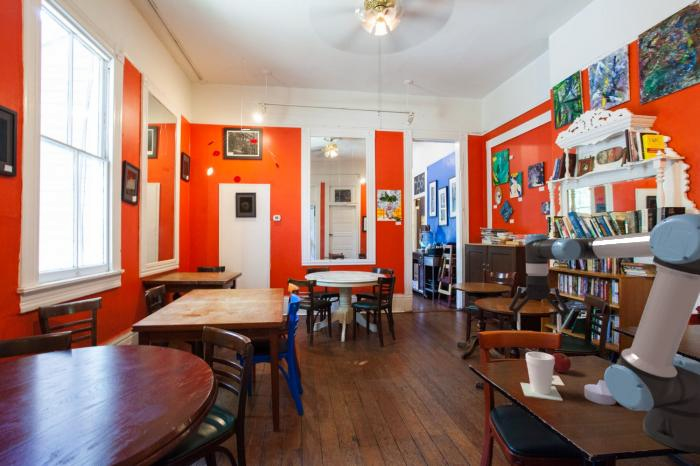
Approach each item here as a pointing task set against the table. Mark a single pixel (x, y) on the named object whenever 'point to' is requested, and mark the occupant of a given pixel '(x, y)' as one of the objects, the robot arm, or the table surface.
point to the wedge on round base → (599, 393)
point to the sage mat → (552, 396)
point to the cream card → (557, 381)
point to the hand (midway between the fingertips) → (538, 331)
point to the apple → (561, 362)
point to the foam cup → (540, 371)
